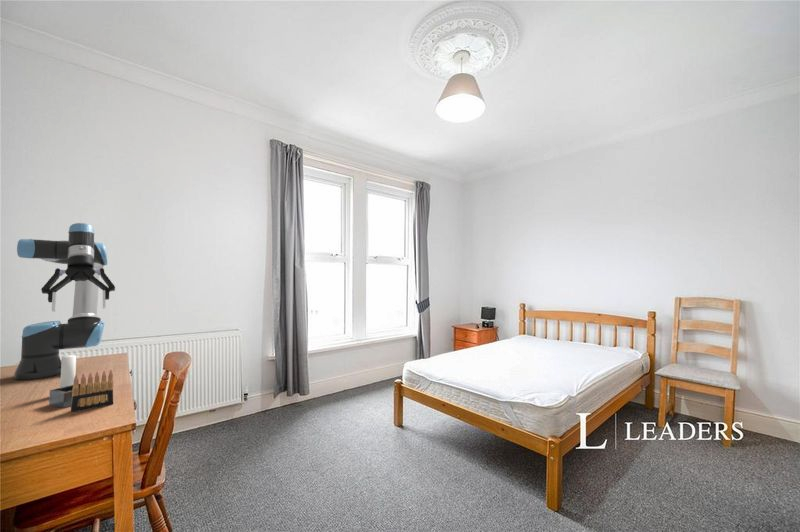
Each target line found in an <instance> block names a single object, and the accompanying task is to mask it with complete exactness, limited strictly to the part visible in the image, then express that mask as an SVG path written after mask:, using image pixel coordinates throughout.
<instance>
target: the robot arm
mask: <svg viewBox="0 0 800 532" xmlns="http://www.w3.org/2000/svg"><path fill="white" fill-rule="evenodd" d="M67 233H68V240H49V239H34V238H33V239H32V238H21V239H19V240H18V241H17V244H16V245H17V246H16V252H17V253H16V254H17V256H18V258H22V259H41V260H42V261H45V262H50V263H54V264H61V265H66V266H67V267H66V269H60V268H58V267H57V268H55V270H54V273H53V275H52V276H51V277H50V278H49V279H48V280H47V282H45V284H44V285H43V286H42V287H41V293H42V294H47V301H48V303H51V310H52V312H56V311H57V310H56V308H57V307H56V306H57V292H59V290H61V289H62V288H63V287H65V286H66V285H68V284H69V283H71V282H72V281H74V295H73V303H72V304H73V305H72V306H73V307H72V316H71V317H69V318H68V319H67V323H62V322H61V321H60V320H52V321H51V320H50V321H45V322H44V321H43V322H38V323H33V324H29V325H26V326H24V327H23V328H22V335H21V352H20V354H21V357H20V361H19V362H18V365H17V367H16V369H15V371H14V373H13V379H14V378H15V379H14V380H17V379H28V380H36V379H37V380H38V379H44V378H49V377H54V376H57V375H61V361H62V359H61V357H60V350H68V349H69V350H71V349H80V348H84V349H87V348H92V347H97V346H98V345H99V344H100V343H101V341H102V337H103V332H104V326H105V322H104V321H101V317H100V316H98V297H99V289H100V290H101V291H102V309H106V301H107V300H108V301H109V300H110V292H115V290H116V286H115V284H114V282H112V281H111V279H110V278H109V276H108V275H107V274H106V273H105V269H104V266H107V265H108V257H107V256H108V255H107V248H106V245H105V244H104V243H103V242H95V229H94V227H93V226H92V225H91V224H88V223H84V222H83V223H82V222H77V223H76V222H75V223H73V224H71V225H70V226H69V228H68V232H67ZM64 274H66V276H65V277H64V278H63V279H61V280H60V281H58V279H59V278H60V277H61V276H63V275H64ZM100 278H101V279H102V280H103V282H104V283H103V282H102V281H101V280H100ZM57 281H58V282H57ZM105 284H106V285H105Z"/></svg>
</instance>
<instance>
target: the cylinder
mask: <svg viewBox="0 0 800 532" xmlns="http://www.w3.org/2000/svg"><path fill="white" fill-rule="evenodd" d="M76 369H77V355H76V354H75V355H74V354H71V355H64V356H61V374H60V381H59V382H60V384H59V388H61V387H66V386H70V385H73V384H74V378H75V376H76V374H77V373H76V371H77V370H76Z"/></svg>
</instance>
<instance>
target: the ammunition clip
mask: <svg viewBox="0 0 800 532" xmlns="http://www.w3.org/2000/svg"><path fill="white" fill-rule="evenodd" d="M106 372H107V371H106V370H103V372H102V374H101V380H100V373H99V371H96V372H95V376H94V378H93V374H92V372H89V374H88V378H87V377H86V375H85V373H83V374H82V375H81V377H80V381H79V376H78V374H77V373H75V378H74V384H73V389H72V405H71V406H70V413H75V412H79V411H80V412H81V411H85V410H90V409H96V408H101V407H106V406H111V405H114V374H113V373H114V372H113V370H112V369H110V370H109V372H108V378H107V373H106ZM86 378H87V380H86ZM93 379H94V380H93ZM93 381H94V382H93ZM79 384H80V391H79ZM86 385H87V391H86Z"/></svg>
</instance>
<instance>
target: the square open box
mask: <svg viewBox="0 0 800 532" xmlns="http://www.w3.org/2000/svg"><path fill="white" fill-rule="evenodd" d="M80 384H81V383H79V391H80ZM72 389H73V385H70V386H66V387H61V388H60V387H57V388H55V389H54V388H53V389H50V390H49V397H48V398H49V402H48V405H49V406H52V407H57V408H61V409H65V408H69V407H71V405H72ZM86 391H87V384H86Z"/></svg>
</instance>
